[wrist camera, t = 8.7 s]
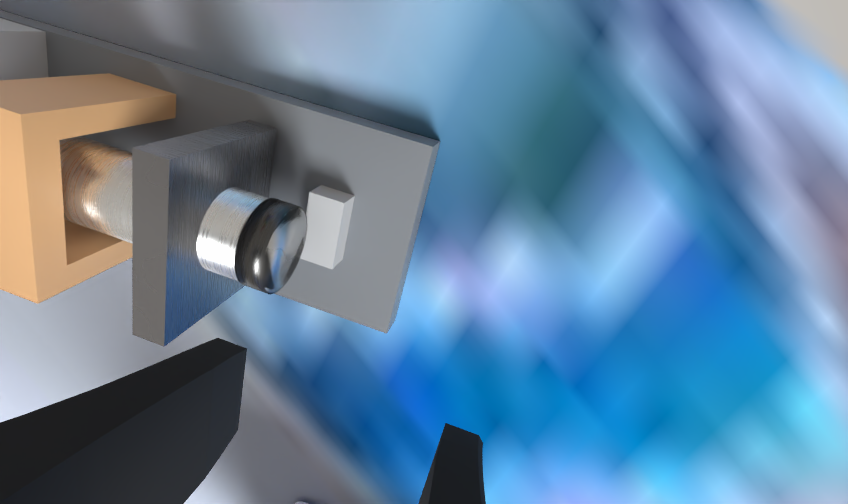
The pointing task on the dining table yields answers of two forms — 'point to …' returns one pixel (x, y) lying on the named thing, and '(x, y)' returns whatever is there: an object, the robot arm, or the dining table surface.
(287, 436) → the dining table surface
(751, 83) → the dining table surface
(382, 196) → the rail
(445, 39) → the dining table surface
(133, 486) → the robot arm
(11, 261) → the block
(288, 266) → the shaft
